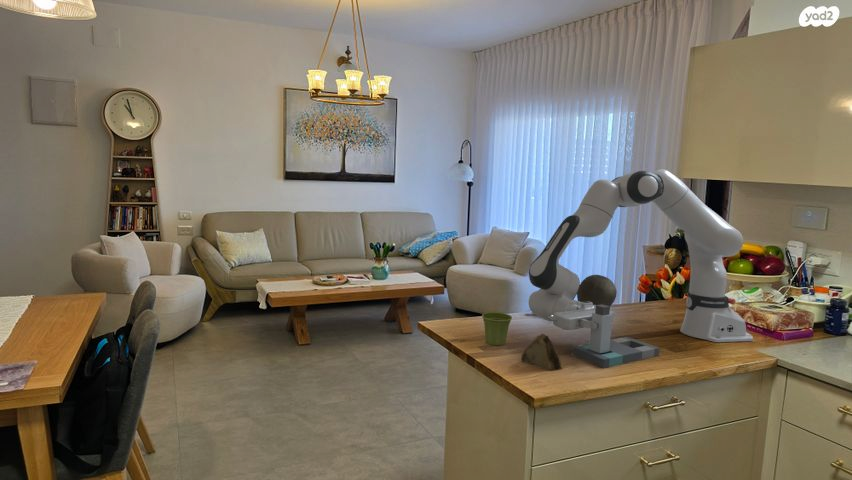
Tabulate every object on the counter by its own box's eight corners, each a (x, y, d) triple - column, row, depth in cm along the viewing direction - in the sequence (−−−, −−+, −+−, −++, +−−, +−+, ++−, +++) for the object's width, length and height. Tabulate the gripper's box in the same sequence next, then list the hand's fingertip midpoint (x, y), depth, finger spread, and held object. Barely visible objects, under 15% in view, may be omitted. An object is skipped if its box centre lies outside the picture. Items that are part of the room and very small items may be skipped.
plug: (598, 347, 169) (602, 303, 167) (609, 351, 165) (613, 306, 163) (589, 349, 167) (592, 304, 165) (599, 353, 163) (603, 308, 161)
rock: (510, 353, 161) (530, 360, 152) (525, 328, 163) (545, 333, 154) (536, 373, 165) (557, 380, 155) (550, 347, 167) (572, 354, 157)
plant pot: (514, 341, 180) (516, 315, 179) (504, 349, 172) (505, 321, 171) (487, 336, 184) (488, 310, 183) (476, 344, 176) (477, 317, 175)
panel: (626, 344, 181) (627, 336, 181) (658, 355, 171) (659, 347, 170) (572, 355, 169) (572, 347, 168) (603, 368, 159) (604, 359, 158)
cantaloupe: (588, 319, 210) (591, 279, 208) (569, 309, 223) (571, 272, 221) (621, 317, 214) (624, 278, 212) (600, 308, 227) (603, 271, 225)
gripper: (544, 307, 170) (578, 318, 158) (592, 300, 181) (628, 311, 169) (543, 327, 171) (577, 340, 159) (591, 319, 181) (626, 331, 170)
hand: (603, 325), depth 164 cm, fingers closed on plug, 4 cm apart
